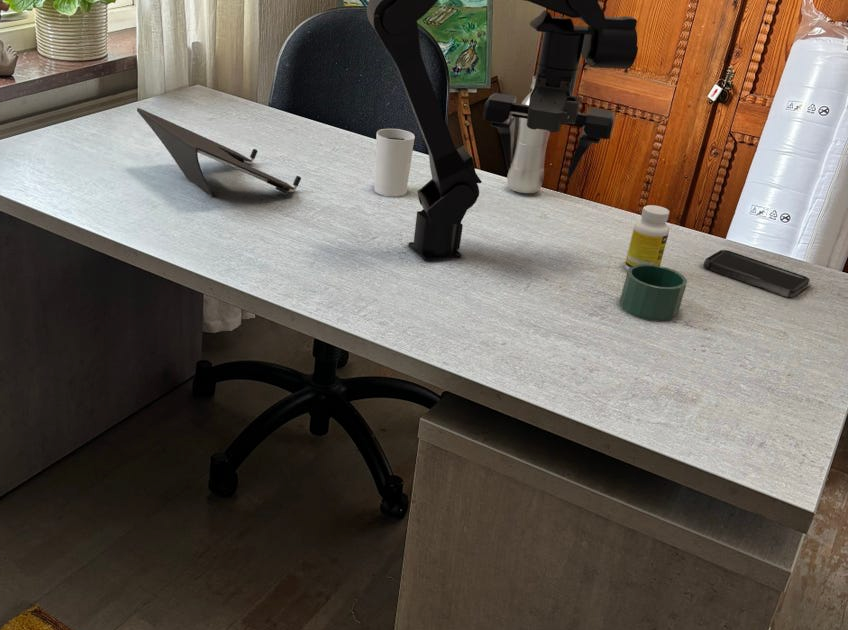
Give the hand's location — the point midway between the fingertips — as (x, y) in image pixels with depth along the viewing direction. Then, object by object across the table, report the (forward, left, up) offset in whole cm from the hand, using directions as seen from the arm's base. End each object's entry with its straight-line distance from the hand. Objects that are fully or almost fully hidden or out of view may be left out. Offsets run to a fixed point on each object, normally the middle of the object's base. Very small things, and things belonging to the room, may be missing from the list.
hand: (538, 173), depth 148 cm
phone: (+33, -17, -13) cm, 39 cm away
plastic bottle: (+16, +26, -13) cm, 33 cm away
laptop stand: (-37, +40, -13) cm, 56 cm away
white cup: (-9, +31, -13) cm, 35 cm away
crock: (+8, -22, -13) cm, 27 cm away
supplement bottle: (+16, -10, -13) cm, 23 cm away
